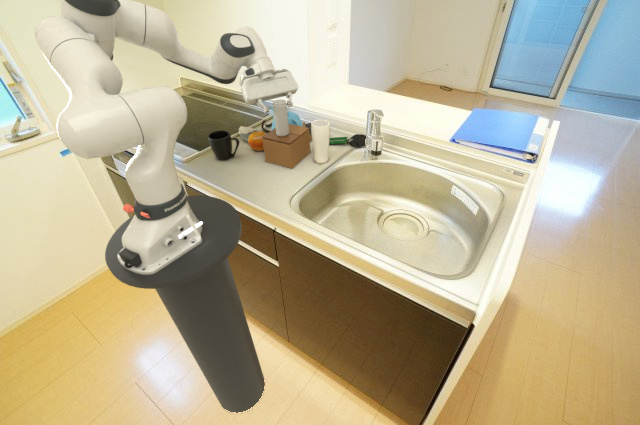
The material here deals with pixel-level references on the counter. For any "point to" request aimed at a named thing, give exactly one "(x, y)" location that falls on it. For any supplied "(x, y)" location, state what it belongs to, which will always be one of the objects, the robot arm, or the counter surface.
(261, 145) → the fruit
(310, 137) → the bone model
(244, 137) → the rock
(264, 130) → the brown curved piece
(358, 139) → the rock
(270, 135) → the flap
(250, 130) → the arrowhead
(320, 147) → the drinking glass
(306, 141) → the carton
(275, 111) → the beverage can
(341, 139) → the business card
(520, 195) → the counter surface
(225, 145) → the mug
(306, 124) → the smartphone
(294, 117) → the teapot
